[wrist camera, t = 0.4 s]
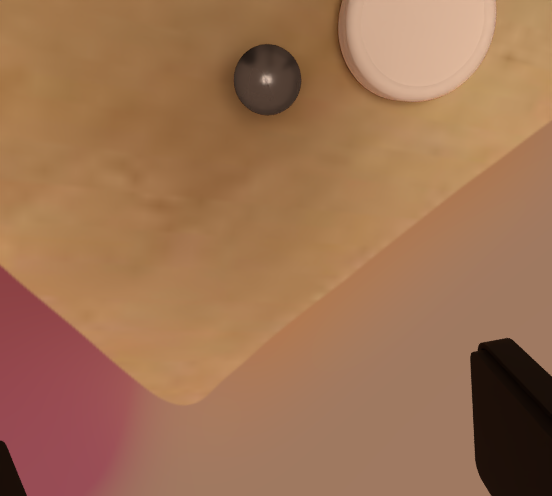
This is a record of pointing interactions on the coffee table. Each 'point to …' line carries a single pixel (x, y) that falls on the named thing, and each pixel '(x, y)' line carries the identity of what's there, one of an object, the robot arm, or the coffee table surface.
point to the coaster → (415, 44)
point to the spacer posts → (267, 79)
